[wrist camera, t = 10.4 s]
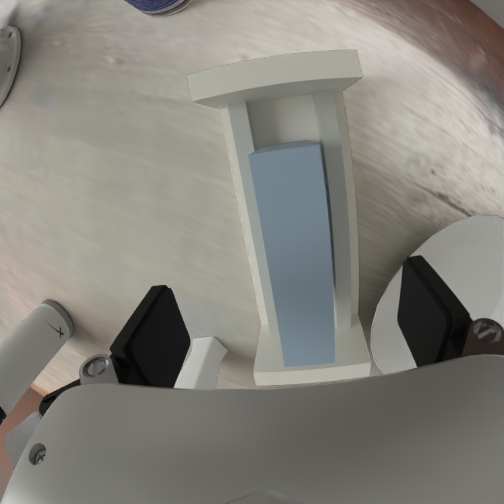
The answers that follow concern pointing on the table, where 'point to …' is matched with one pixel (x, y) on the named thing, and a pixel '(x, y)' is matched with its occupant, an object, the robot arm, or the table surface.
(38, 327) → the travel mug
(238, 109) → the track frame
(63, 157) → the table surface
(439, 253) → the plate
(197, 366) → the perfume bottle
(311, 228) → the door panel
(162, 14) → the pill bottle
